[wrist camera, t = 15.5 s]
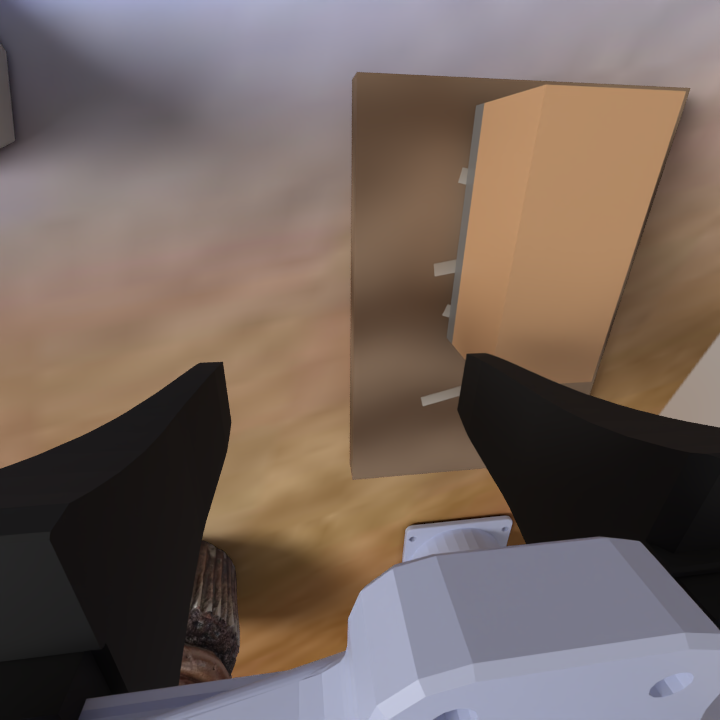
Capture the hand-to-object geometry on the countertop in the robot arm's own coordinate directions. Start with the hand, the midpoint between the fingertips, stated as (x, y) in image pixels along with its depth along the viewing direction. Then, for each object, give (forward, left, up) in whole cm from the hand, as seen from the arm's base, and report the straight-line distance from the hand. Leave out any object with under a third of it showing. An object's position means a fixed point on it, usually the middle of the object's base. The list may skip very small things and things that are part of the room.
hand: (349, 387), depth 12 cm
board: (-1, -8, -9) cm, 12 cm away
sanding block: (+3, -8, -8) cm, 12 cm away
